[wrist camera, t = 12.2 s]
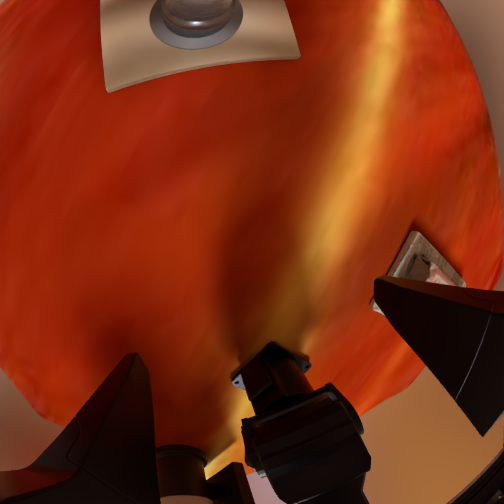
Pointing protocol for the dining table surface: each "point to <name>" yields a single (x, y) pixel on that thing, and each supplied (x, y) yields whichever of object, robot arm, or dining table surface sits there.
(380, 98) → the dining table surface
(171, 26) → the drinking glass
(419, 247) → the packaged product
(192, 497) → the light fixture
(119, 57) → the board
